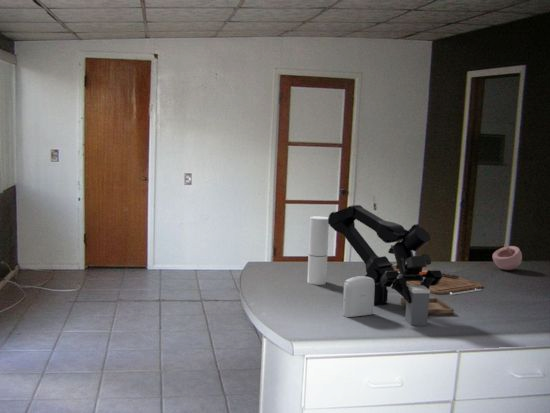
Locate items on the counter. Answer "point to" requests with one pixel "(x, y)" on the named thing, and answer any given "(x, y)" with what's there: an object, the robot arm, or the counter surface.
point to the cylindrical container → (318, 250)
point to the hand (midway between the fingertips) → (418, 302)
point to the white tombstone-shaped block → (358, 296)
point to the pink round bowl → (507, 257)
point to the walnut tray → (435, 307)
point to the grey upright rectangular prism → (417, 305)
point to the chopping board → (447, 284)
